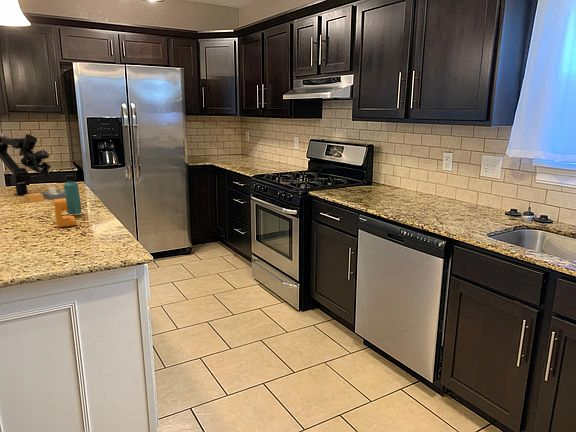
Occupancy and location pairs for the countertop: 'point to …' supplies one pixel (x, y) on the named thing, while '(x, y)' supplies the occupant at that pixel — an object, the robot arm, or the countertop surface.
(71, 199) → the beverage bottle
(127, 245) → the countertop surface
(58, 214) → the bracket
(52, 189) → the breaker button
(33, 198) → the cap
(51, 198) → the panel
